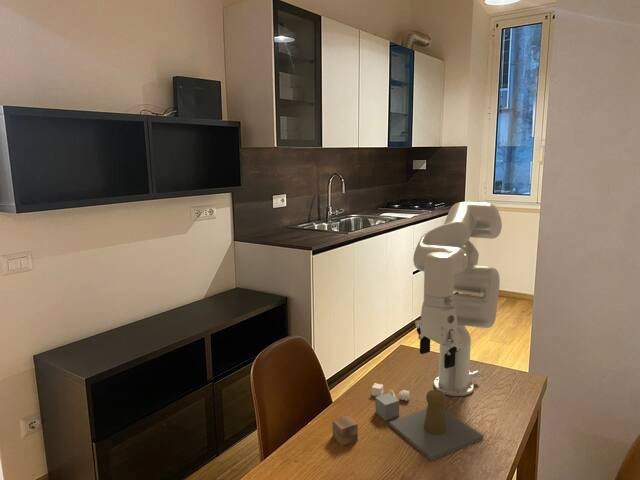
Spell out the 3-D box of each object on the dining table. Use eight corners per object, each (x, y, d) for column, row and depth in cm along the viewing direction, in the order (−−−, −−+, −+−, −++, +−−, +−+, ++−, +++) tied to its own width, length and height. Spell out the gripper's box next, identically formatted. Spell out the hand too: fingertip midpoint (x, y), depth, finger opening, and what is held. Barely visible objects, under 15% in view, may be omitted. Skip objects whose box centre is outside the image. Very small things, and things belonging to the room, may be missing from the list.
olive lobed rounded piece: (446, 435, 131) (448, 398, 129) (424, 433, 132) (425, 397, 130) (445, 423, 137) (446, 387, 135) (423, 421, 138) (424, 385, 136)
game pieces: (371, 396, 155) (371, 387, 154) (374, 391, 158) (374, 382, 157) (408, 403, 150) (408, 394, 149) (411, 398, 153) (411, 389, 152)
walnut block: (348, 431, 136) (347, 415, 135) (357, 440, 132) (357, 424, 131) (332, 436, 134) (332, 420, 133) (341, 446, 130) (341, 429, 129)
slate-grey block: (389, 407, 147) (389, 392, 146) (399, 415, 143) (399, 400, 142) (375, 412, 145) (375, 397, 144) (385, 420, 141) (385, 405, 140)
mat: (437, 407, 147) (437, 404, 146) (482, 439, 131) (482, 435, 131) (388, 425, 138) (388, 422, 138) (431, 460, 123) (431, 457, 123)
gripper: (473, 306, 121) (470, 369, 125) (427, 288, 136) (426, 345, 140) (450, 312, 118) (448, 376, 121) (406, 293, 133) (405, 351, 136)
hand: (436, 359), depth 130 cm, fingers open, 9 cm apart
